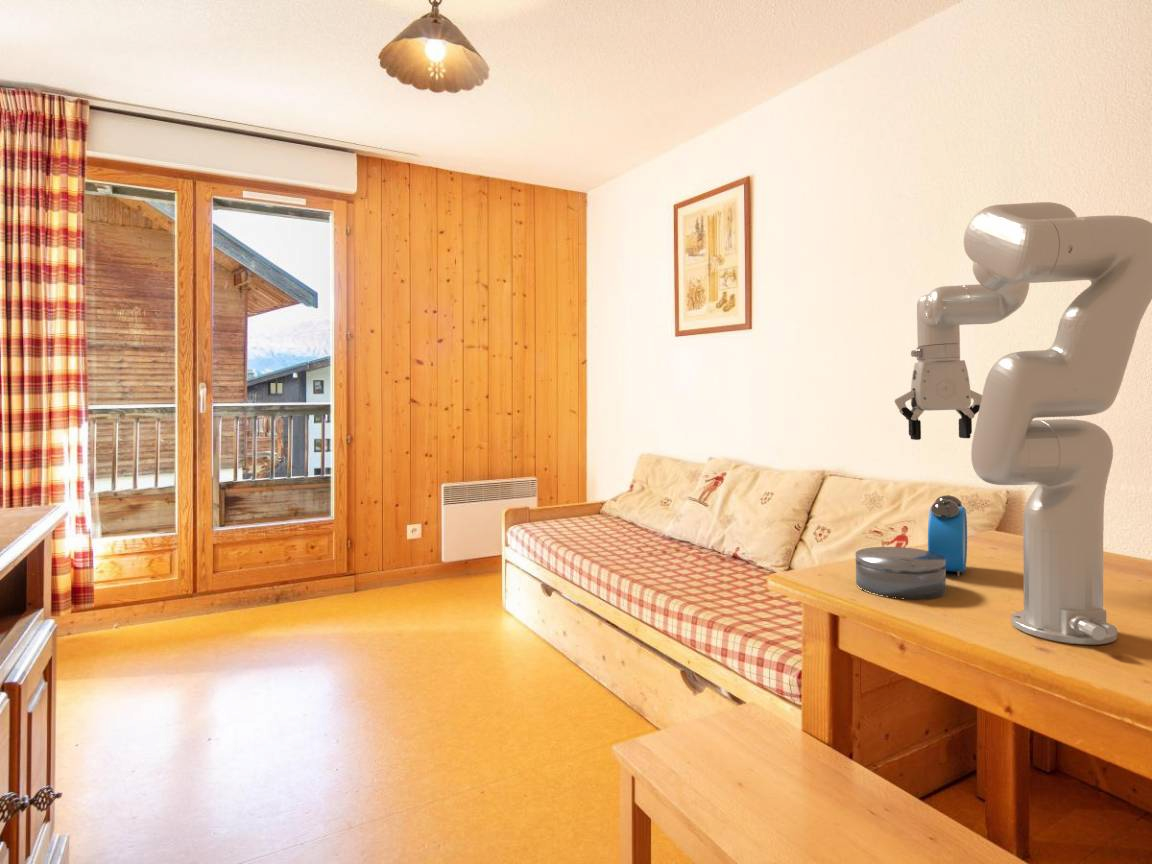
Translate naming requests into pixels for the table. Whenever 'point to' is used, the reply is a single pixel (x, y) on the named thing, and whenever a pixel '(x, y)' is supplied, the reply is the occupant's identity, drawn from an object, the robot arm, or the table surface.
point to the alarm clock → (948, 532)
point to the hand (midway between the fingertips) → (940, 438)
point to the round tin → (901, 572)
